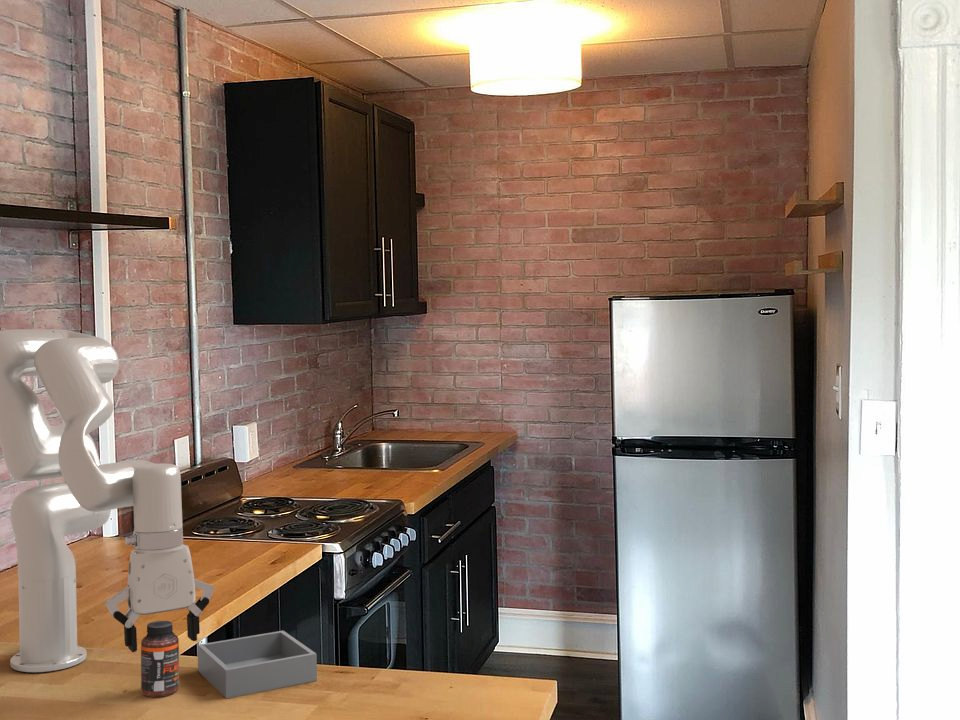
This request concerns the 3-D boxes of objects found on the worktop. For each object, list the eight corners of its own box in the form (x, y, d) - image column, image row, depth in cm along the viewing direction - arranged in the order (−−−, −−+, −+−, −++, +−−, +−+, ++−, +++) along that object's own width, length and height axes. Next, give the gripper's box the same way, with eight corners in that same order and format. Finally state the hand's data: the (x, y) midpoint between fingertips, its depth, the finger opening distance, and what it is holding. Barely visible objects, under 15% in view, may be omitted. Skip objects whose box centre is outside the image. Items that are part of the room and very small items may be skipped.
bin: (198, 671, 179) (197, 644, 179) (283, 655, 188) (283, 630, 187) (226, 698, 166) (225, 670, 166) (316, 680, 174) (316, 653, 174)
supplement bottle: (168, 699, 166) (166, 629, 165) (134, 697, 167) (133, 627, 167) (185, 686, 172) (184, 619, 171) (153, 684, 173) (152, 617, 172)
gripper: (108, 550, 161) (113, 660, 161) (218, 536, 170) (222, 640, 170) (98, 543, 167) (102, 648, 167) (204, 530, 176) (208, 630, 176)
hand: (162, 644), depth 169 cm, fingers open, 9 cm apart
